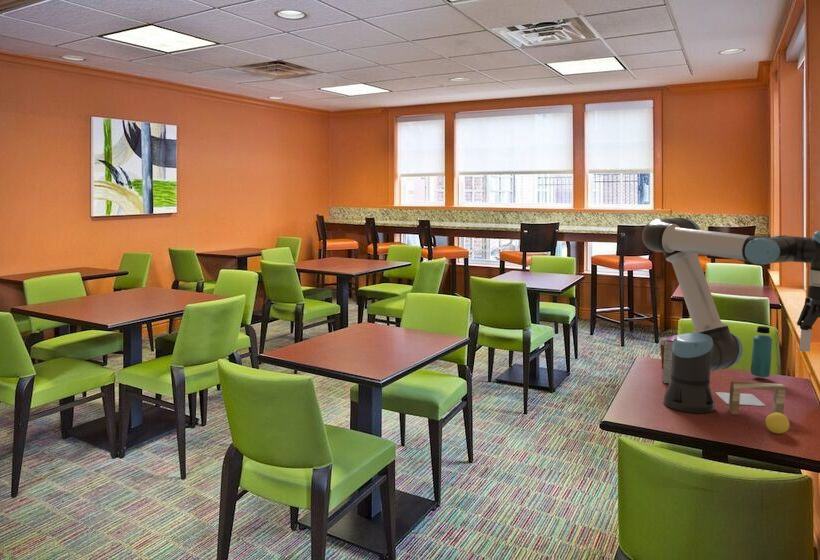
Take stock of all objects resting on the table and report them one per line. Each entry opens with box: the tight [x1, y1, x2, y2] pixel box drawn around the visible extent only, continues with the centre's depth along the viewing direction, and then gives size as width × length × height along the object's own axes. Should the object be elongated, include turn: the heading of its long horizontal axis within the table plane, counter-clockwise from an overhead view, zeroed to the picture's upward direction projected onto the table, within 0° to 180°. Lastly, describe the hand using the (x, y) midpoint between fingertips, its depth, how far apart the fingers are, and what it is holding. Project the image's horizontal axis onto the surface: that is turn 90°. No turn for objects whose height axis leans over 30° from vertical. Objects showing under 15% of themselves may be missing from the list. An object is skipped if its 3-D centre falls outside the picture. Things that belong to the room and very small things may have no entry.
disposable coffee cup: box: [659, 336, 671, 369], centre depth 242 cm, size 10×10×12 cm
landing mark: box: [714, 391, 767, 407], centre depth 206 cm, size 12×12×1 cm
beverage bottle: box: [750, 325, 773, 378], centre depth 229 cm, size 6×7×20 cm
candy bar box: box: [661, 334, 679, 385], centre depth 226 cm, size 11×5×16 cm, turn 138°
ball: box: [765, 413, 790, 435], centre depth 177 cm, size 6×6×6 cm
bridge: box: [728, 380, 787, 415], centre depth 192 cm, size 3×15×10 cm, turn 80°
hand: (816, 357), depth 177 cm, fingers open, 13 cm apart
